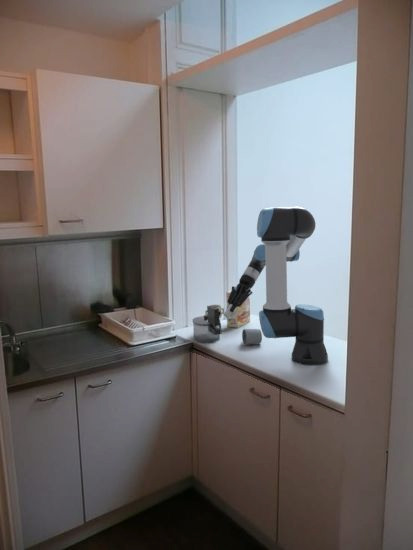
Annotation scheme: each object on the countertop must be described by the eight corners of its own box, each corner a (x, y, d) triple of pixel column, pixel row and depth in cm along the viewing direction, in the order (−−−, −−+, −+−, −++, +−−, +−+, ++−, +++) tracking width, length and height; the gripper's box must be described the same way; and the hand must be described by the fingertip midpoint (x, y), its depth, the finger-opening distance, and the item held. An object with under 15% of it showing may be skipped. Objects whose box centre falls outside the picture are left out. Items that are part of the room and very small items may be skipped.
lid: (188, 320, 229) (187, 302, 228) (213, 316, 234) (212, 299, 233) (203, 329, 211) (203, 311, 209) (230, 325, 216) (229, 307, 214)
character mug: (208, 332, 238) (207, 308, 236) (203, 329, 245) (202, 305, 242) (227, 329, 242) (226, 306, 240) (221, 326, 249) (221, 303, 247)
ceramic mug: (262, 345, 214) (262, 329, 213) (246, 347, 212) (245, 331, 211) (255, 339, 224) (255, 324, 223) (239, 341, 223) (239, 325, 222)
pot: (231, 344, 217) (231, 326, 215) (207, 349, 212) (206, 330, 210) (209, 331, 239) (209, 315, 238) (186, 335, 234) (186, 318, 233)
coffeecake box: (238, 328, 244) (236, 292, 241) (226, 326, 248) (225, 291, 245) (250, 321, 257) (250, 287, 254) (239, 320, 261) (238, 286, 257)
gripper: (262, 283, 225) (239, 323, 217) (243, 280, 235) (221, 318, 227) (254, 274, 221) (231, 314, 213) (236, 272, 230) (212, 310, 223)
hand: (225, 316), depth 220 cm, fingers closed
